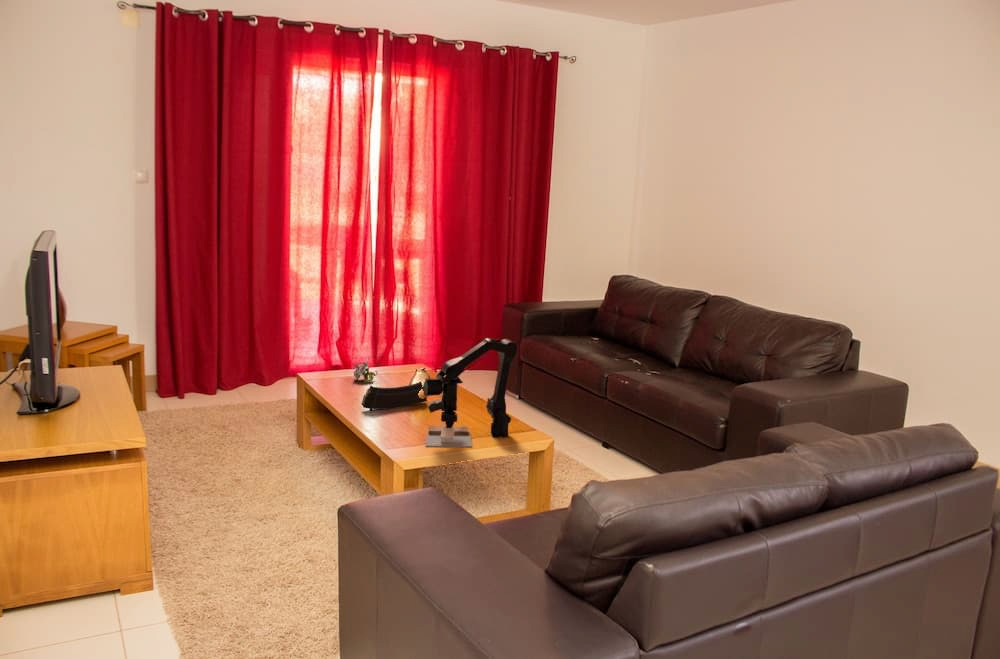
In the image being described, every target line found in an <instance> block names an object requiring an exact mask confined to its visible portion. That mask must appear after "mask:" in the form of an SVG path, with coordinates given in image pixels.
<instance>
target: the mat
mask: <svg viewBox="0 0 1000 659" xmlns="http://www.w3.org/2000/svg"><path fill="white" fill-rule="evenodd" d="M425 447H426V448H431V447H432V448H473V442H472V434H471V435H470V434H468V435H454V442H453V443H449V442H441V435H429V434H425Z"/></svg>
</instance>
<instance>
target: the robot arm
mask: <svg viewBox="0 0 1000 659" xmlns="http://www.w3.org/2000/svg"><path fill="white" fill-rule="evenodd" d="M518 350H519V347H518V345H517V344H516V343H515V342H513V341H512V340H510V339H508V338H504V339H494V338H490V337H486V338H484V339H483V340H482V341H481V342H479V343H478V344H476V345H475V346H474V347H472V348H471V349H469V350H468V351H466V352H465V353H463V354H462V355H461V356H459V357H455V358H452V359H449V360H447V361H446V362H444V363H443V364H442V366H441V370H440V371H439V372H438V374H436V376H435V377H436V378H435V377H434V378H432V377H431V378H429V377H428V378H427V377H426V378H425V380H424V382H423V384H422V385H423V391H424V395H425V396H426V397H431V396H441V398H438V399H434V400H431V401H429V402H428V401H427V402H428V403H427V408H428V411H429V413H431V414H432V413H434V412H437V411H441V415H440V416H441V417H440V421H441V422H444V424H445V426H446V428H452V426H454V424H455V423H457V422H458V414H457V411H458V410H457V409H458V403H457V402H458V384H463V383H464V381H462V379H460V376H461V374H463V373H464V371H465V370H466V368H467V367H469V365H471V364H472V363H474V362H475V361H476V360H478V359H479V358H481V357H483V355H485V354H487V353H488V352H490V351H496V352H497V354H498V360H499V361H498V362H499V363H498V367H497V374H496V379H495V385H494V390H493V394H492V396H491V397H490V398H489V397H488V398H487V399H486V400H487V403H486V406H485V408H486V410H487V411H486V412H487V413H488V414H489V415H490V416H491V418H492V422H491V423H490V434H491V436H492V438H509V424H510V423H511V421H512V417H511V416H510V415H509V414H507V404H506V398H505V397H506V392H507V387H508V380H509V376H510V370H511V365H512V362H513V361H514V360H515V359H516V355H517V353H518ZM441 394H442V395H441Z"/></svg>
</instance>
